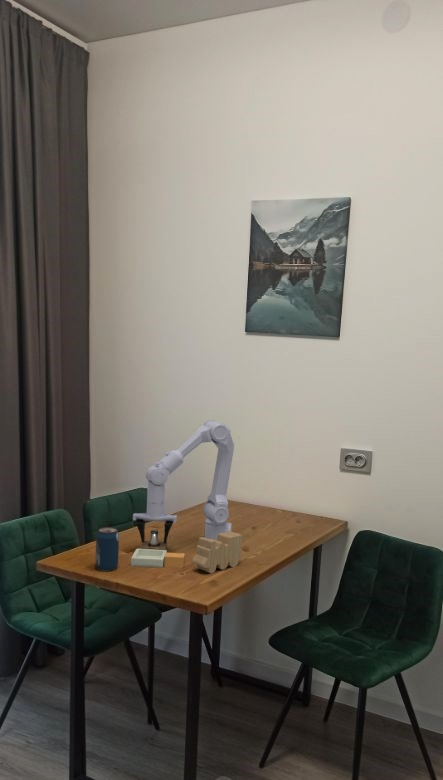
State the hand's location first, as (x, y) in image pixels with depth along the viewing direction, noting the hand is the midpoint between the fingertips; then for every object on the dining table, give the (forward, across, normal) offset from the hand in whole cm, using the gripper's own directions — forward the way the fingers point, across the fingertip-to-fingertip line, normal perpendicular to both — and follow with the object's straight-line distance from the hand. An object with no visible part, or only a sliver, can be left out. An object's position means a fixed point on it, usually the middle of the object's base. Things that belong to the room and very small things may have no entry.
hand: (154, 542), depth 215 cm
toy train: (+4, -22, +12) cm, 25 cm away
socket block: (+3, 0, 0) cm, 3 cm away
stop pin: (+3, 0, 0) cm, 3 cm away
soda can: (+4, +12, +18) cm, 22 cm away
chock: (+4, -8, +12) cm, 15 cm away
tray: (+3, 0, +10) cm, 11 cm away
